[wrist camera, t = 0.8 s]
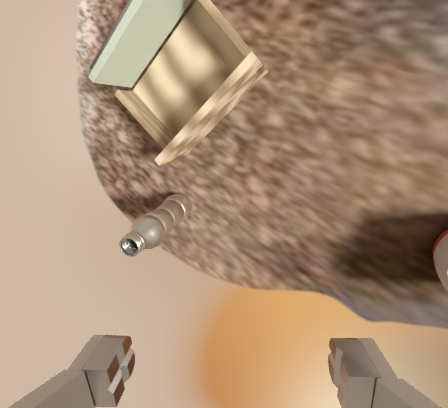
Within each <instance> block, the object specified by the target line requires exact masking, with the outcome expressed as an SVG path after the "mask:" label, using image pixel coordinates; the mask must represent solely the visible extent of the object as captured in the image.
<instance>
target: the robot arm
mask: <svg viewBox="0 0 448 408" xmlns="http://www.w3.org/2000/svg"><path fill="white" fill-rule="evenodd" d="M131 344H132V340H131V337H130V336H116V335H115V336H114V335H113V336H112V335H94V336H93V337H91V339H90V340H89V341H88V343H87V344H86V345H85V347H84V348H83V349H82V351H81V352H80V353H79V355H78V356H77V358H76V359H75V360H74V362H73V363H72V364H71V366H70V367H69V368H68V370H63V371H62V372H60V373H59V374H57V375H56V376H54V377H53V378H51V379H50V380H49V381H47V382H45V383H44V384H43V385H41V386H40V387H38V388H37V389H35V390H34V391H32V392H31V393H29V394H28V395H26V396H25V397H23V398H22V399H20V400H19V401H18V402H16V403H14V404H13V405H12V406H10V407H9V408H95V407H117V405H118V403H119V400H120V398H121V396H122V394H123V392H124V389H125V388H124V382H126V381H127V380H128V379H129V378H130V376H131V374H132V372H133V369H134V364H135V354H134V351H133V350H132V349H131V348H130V346H131ZM329 347H330V349H331V353H330V354H329V355H328V356H329V357H328V363H329V371H330V375H331V378H332V382H333V384H334V385H335V386H336V387H337V388H338V395H337V396H338V399H339V401H340V404H341V407H342V408H441V407H439V406H438V405H437V404H435V403H434V402H432V401H431V400H430V399H429V398H427V397H426V396H425V395H423V394H422V393H421V392H419V391H418V390H417V389H415V388H414V387H413V386H411V385H410V384H408V383H407V382H406V381H404V380H403V379H398V378H397V377H396V375H395V373H394V372H393V370H392V368H391V367H390V365H389V364H388V362H387V360H386V359H385V357H384V356H383V354H382V352H381V351H380V349H379V347H378V346H377V344H376V343H375V341H374V340H373V339H371V338H358V339H357V338H331V339H330V343H329Z"/></svg>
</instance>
